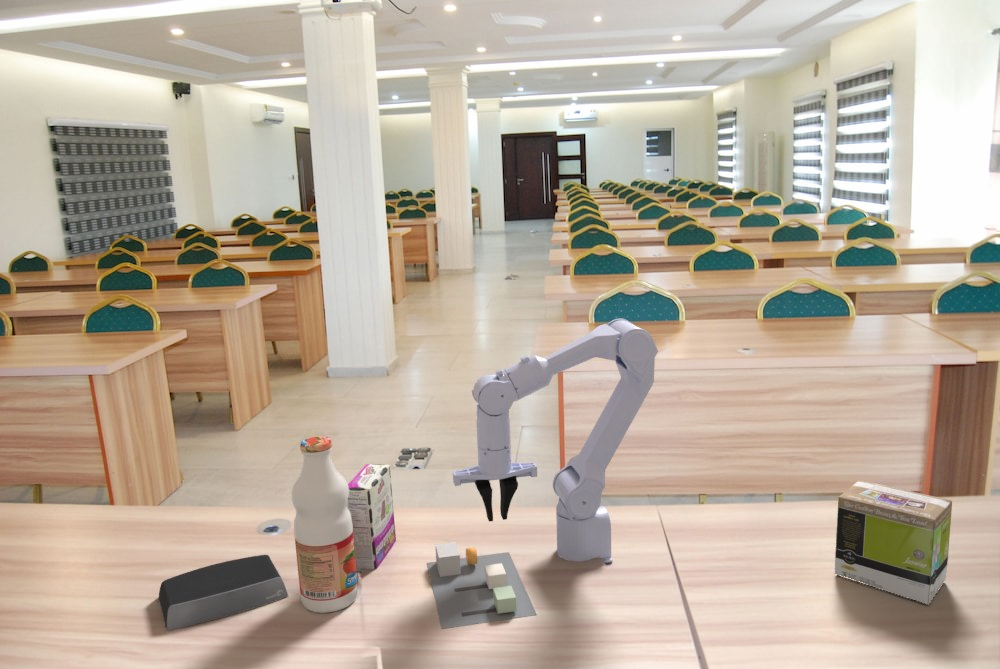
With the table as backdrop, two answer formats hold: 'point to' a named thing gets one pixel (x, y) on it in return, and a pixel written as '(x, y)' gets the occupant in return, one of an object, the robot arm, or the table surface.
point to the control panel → (472, 588)
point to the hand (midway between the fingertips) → (496, 518)
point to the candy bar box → (372, 515)
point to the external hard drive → (220, 591)
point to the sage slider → (504, 599)
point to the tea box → (893, 539)
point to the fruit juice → (323, 531)
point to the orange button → (471, 555)
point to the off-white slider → (495, 576)
